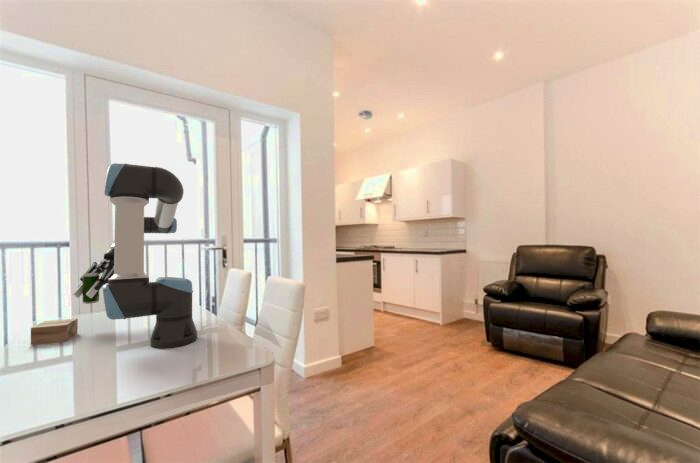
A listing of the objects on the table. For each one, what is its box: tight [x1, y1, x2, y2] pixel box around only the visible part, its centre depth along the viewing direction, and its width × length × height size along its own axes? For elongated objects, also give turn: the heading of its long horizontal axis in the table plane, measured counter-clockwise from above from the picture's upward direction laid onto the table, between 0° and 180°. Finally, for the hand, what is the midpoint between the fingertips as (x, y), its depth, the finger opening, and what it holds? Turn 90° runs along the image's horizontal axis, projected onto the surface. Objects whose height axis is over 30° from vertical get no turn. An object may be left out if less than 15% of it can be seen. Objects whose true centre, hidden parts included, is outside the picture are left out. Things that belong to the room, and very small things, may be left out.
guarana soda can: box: [82, 272, 100, 305], centre depth 132 cm, size 5×5×12 cm
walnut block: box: [30, 318, 79, 346], centre depth 121 cm, size 10×10×6 cm
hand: (82, 296), depth 129 cm, fingers closed on guarana soda can, 5 cm apart
